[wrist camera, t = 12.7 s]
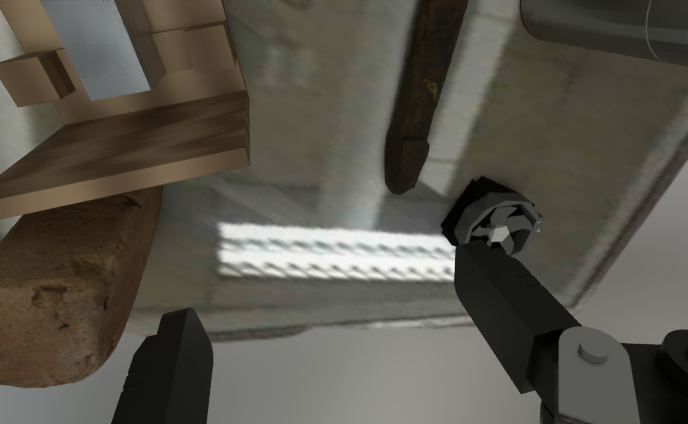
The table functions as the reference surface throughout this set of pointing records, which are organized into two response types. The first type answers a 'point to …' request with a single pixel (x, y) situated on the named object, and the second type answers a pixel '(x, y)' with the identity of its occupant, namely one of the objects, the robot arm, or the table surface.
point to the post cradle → (127, 110)
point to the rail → (107, 45)
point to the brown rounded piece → (71, 286)
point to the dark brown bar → (421, 91)
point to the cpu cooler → (493, 218)
